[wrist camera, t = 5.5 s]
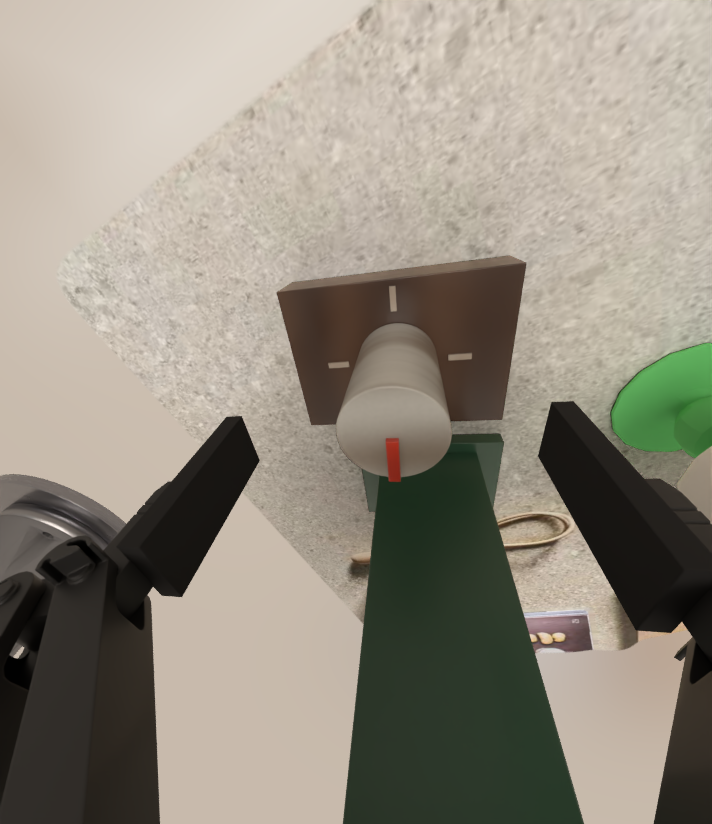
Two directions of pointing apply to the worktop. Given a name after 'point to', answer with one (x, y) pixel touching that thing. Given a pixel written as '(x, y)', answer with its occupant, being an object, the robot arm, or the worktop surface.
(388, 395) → the dial
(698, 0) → the worktop surface
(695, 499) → the cup
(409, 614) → the control post
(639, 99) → the worktop surface
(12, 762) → the robot arm
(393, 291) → the dial panel
